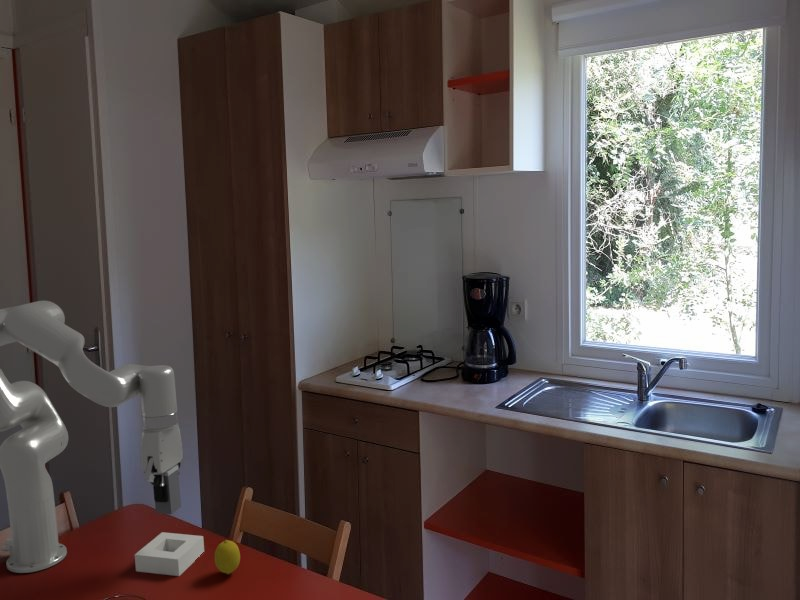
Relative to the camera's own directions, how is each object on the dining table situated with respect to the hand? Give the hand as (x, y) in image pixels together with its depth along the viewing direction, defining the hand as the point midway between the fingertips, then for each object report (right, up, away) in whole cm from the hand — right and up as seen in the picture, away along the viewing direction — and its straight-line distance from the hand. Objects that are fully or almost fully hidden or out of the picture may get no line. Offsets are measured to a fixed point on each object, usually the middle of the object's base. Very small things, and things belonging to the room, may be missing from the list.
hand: (167, 496), depth 157 cm
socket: (0, -16, +2) cm, 16 cm away
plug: (0, -3, 0) cm, 3 cm away
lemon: (+15, -16, -4) cm, 23 cm away
